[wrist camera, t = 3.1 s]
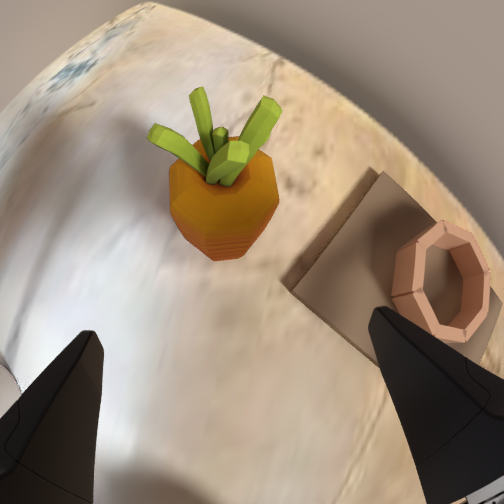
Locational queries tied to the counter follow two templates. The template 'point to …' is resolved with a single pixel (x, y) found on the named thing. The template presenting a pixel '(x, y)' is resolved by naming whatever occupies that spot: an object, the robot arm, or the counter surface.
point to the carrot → (221, 180)
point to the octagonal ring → (412, 277)
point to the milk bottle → (7, 390)
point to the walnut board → (384, 271)
